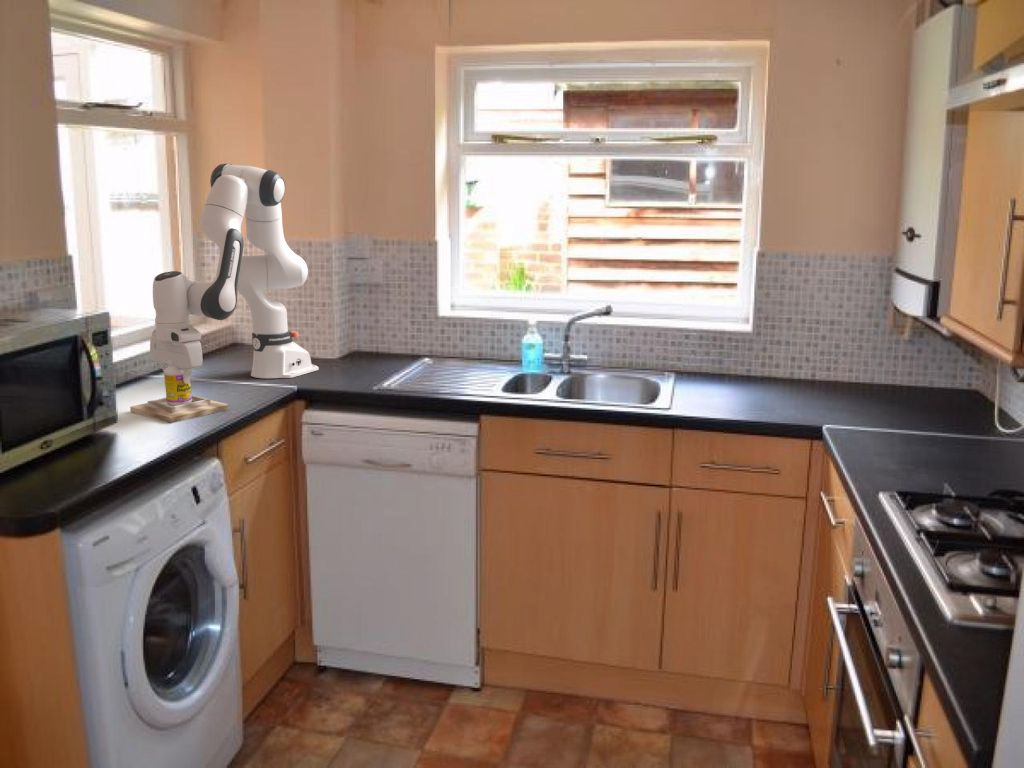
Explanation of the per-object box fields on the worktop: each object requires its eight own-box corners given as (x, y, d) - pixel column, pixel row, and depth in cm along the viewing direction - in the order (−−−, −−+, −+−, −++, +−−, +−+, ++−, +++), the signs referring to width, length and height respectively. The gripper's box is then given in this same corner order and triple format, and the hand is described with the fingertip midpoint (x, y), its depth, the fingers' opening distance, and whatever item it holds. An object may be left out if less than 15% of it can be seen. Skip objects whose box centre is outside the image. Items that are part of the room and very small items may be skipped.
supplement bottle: (177, 407, 253) (173, 362, 250) (161, 404, 257) (157, 359, 253) (197, 402, 259) (193, 357, 255) (181, 398, 262) (177, 354, 259)
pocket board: (187, 399, 271) (187, 389, 270) (229, 409, 259) (228, 399, 258) (130, 411, 257) (129, 401, 256) (171, 423, 245) (170, 412, 244)
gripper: (141, 329, 257) (146, 377, 260) (184, 337, 244) (188, 387, 248) (162, 326, 262) (166, 374, 265) (204, 333, 249) (208, 383, 252)
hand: (177, 380), depth 256 cm, fingers open, 7 cm apart
